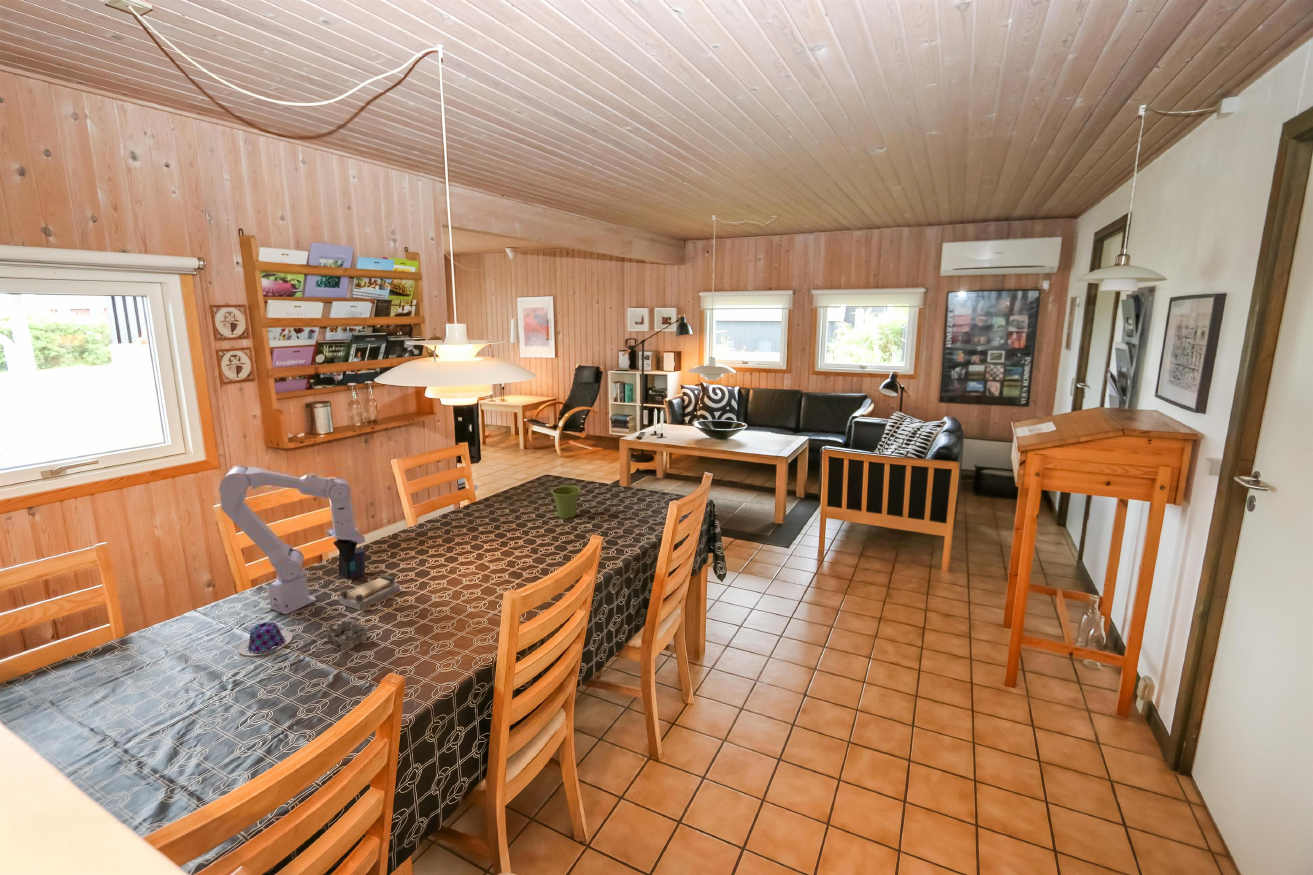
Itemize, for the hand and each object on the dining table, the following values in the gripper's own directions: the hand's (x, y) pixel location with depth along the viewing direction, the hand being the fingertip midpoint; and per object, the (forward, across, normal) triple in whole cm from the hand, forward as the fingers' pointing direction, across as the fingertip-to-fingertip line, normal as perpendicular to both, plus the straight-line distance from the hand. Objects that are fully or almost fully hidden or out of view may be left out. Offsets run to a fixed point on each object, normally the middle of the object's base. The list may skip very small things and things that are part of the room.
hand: (349, 561), depth 184 cm
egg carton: (+11, -22, +18) cm, 30 cm away
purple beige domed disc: (+11, -5, +29) cm, 31 cm away
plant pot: (+11, -19, -86) cm, 88 cm away
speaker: (+11, +11, -9) cm, 18 cm away
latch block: (+10, -7, -1) cm, 12 cm away
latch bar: (+8, -7, -1) cm, 11 cm away
